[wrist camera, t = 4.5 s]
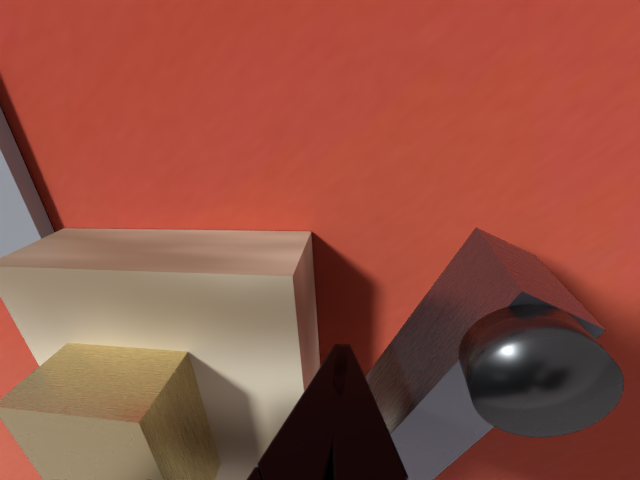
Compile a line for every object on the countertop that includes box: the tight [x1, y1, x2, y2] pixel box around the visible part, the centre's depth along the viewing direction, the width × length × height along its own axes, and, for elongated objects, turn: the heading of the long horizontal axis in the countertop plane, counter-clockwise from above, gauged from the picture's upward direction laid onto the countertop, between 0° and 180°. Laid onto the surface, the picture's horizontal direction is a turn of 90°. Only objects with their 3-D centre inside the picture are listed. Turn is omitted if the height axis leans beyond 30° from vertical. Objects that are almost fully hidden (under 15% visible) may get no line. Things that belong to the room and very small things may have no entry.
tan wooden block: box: [0, 343, 221, 480], centre depth 11 cm, size 6×4×2 cm
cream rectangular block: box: [0, 228, 320, 480], centre depth 13 cm, size 16×10×6 cm, turn 3°
